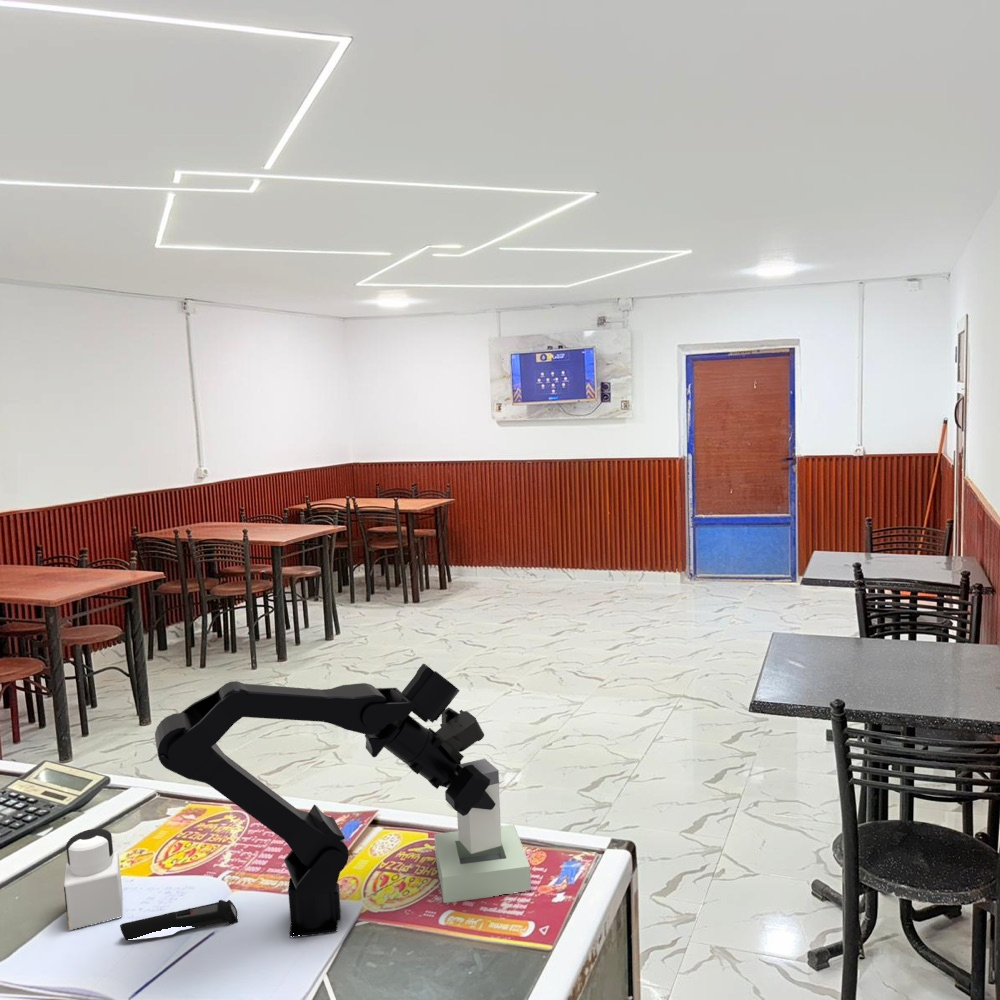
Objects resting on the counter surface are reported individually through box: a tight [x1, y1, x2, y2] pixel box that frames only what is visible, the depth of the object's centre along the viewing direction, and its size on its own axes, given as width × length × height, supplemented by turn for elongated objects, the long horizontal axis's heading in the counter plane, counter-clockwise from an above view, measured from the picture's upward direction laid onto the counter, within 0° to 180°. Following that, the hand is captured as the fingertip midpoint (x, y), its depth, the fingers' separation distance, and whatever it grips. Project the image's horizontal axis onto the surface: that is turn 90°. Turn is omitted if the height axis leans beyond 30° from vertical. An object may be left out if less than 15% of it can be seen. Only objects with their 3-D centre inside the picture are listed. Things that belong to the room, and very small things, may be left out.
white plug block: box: [455, 758, 502, 854], centre depth 134 cm, size 5×5×12 cm
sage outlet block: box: [433, 824, 532, 904], centre depth 135 cm, size 13×13×4 cm
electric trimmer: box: [119, 899, 239, 941], centre depth 125 cm, size 4×16×3 cm, turn 108°
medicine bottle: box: [63, 828, 124, 931], centre depth 129 cm, size 7×7×12 cm
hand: (486, 799), depth 135 cm, fingers closed on white plug block, 5 cm apart
